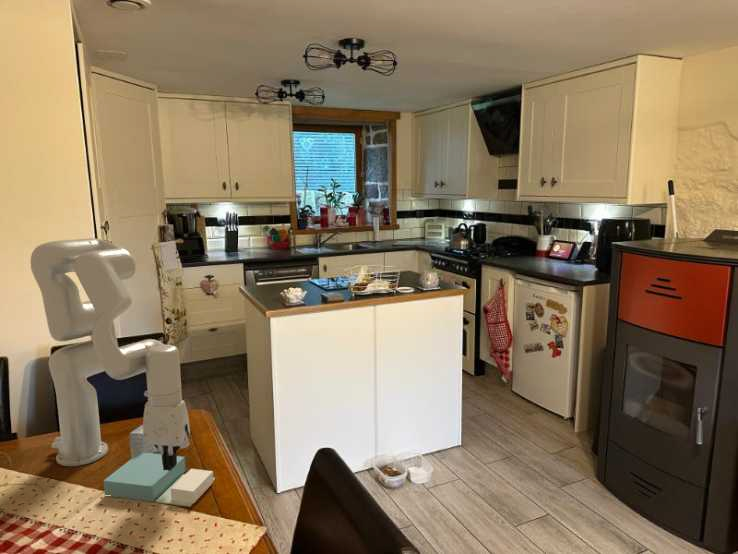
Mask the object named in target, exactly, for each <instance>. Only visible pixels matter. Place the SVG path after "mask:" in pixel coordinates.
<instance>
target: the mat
mask: <svg viewBox="0 0 738 554" xmlns="http://www.w3.org/2000/svg"><path fill="white" fill-rule="evenodd" d="M185 474H186V473H185ZM185 474H184V473H183V474H182V475H181V476H180V477H179V478H178V479H177V480H176V481H175V482H174V483H173V484H172V485H171V486H170V487H169V488H167V489H166V490H165V491H164V492H163V493H162V494H161V495H160V496H159V497H158V498H157V499H156V500H155V501H154V502H155V503H158V504H165V505H166V504H167V505H174V506H180V507H181V506H182V507H189V508H191V507H192V506H193V505H194V503H189V502H182V501H175V500H171V489H170V488H171V487H172V486H174V485H175V484H176V483H177V482H178V481H179V480H180V479H181V478H182V477H183V476H184V475H185ZM215 480H216V477H213V482H215Z"/></svg>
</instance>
